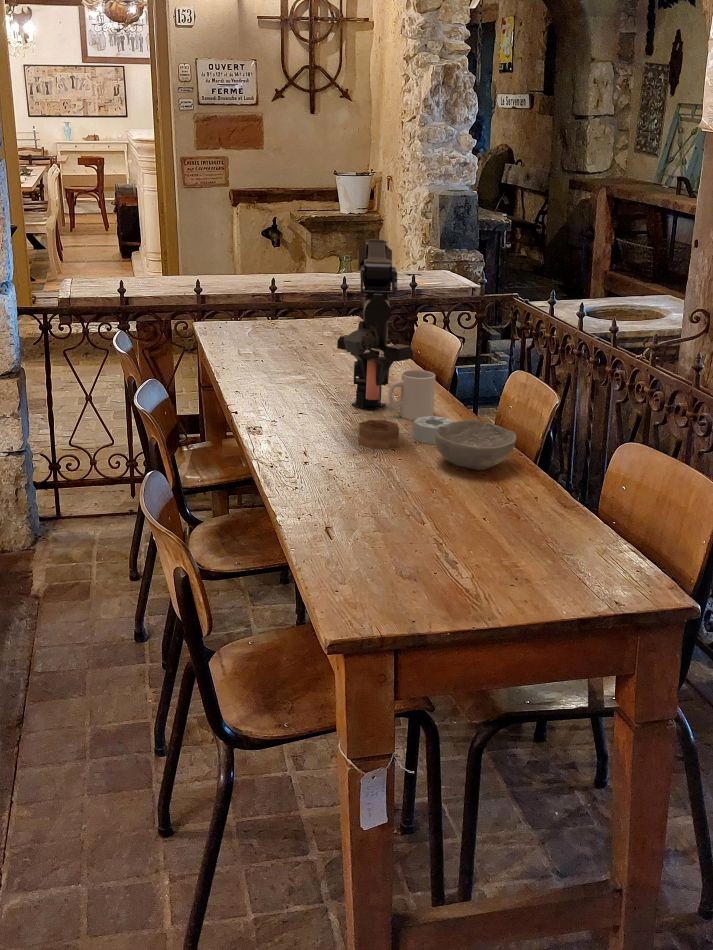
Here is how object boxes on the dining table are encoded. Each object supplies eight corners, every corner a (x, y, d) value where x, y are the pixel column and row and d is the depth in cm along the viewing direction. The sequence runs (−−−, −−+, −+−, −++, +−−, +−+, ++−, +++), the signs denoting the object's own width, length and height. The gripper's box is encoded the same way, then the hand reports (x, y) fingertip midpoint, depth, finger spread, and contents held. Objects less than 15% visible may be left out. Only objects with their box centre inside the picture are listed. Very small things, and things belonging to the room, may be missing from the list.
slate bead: (419, 430, 250) (420, 414, 249) (456, 435, 248) (457, 419, 246) (409, 441, 242) (410, 424, 241) (446, 446, 240) (448, 429, 238)
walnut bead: (375, 433, 247) (376, 417, 245) (405, 442, 241) (406, 426, 240) (351, 441, 240) (351, 425, 239) (380, 450, 235) (381, 434, 233)
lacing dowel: (371, 396, 242) (373, 358, 239) (381, 398, 240) (382, 360, 237) (363, 398, 240) (364, 360, 237) (372, 400, 238) (374, 362, 235)
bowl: (460, 484, 216) (463, 448, 214) (417, 458, 231) (420, 424, 228) (530, 473, 224) (533, 438, 222) (484, 449, 239) (487, 416, 236)
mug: (425, 410, 267) (428, 369, 263) (438, 419, 259) (441, 377, 256) (382, 412, 263) (384, 371, 260) (393, 422, 256) (395, 379, 252)
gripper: (321, 315, 234) (320, 382, 239) (384, 327, 223) (380, 397, 228) (354, 310, 242) (352, 374, 247) (416, 321, 230) (412, 389, 235)
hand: (373, 384), depth 239 cm, fingers closed on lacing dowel, 3 cm apart
